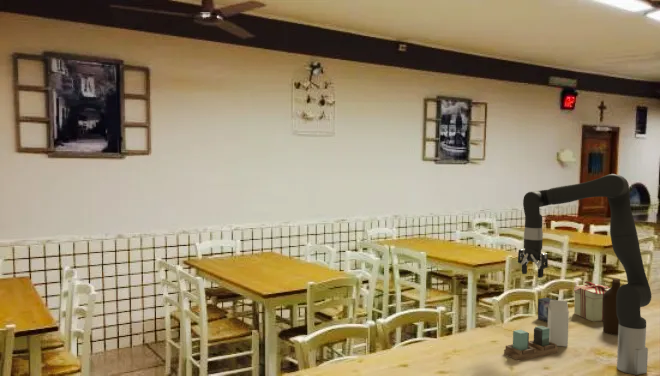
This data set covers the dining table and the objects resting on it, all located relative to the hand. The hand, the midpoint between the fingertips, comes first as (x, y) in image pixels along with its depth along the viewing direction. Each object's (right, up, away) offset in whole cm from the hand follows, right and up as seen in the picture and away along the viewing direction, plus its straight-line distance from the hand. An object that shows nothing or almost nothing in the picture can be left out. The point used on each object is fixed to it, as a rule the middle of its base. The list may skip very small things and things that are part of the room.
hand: (532, 275), depth 239 cm
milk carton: (+12, -30, +4) cm, 33 cm away
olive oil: (+46, -30, +21) cm, 59 cm away
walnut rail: (-4, -31, -9) cm, 32 cm away
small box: (+23, -29, +38) cm, 53 cm away
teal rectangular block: (-9, -29, -12) cm, 33 cm away
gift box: (+48, -29, +45) cm, 72 cm away
